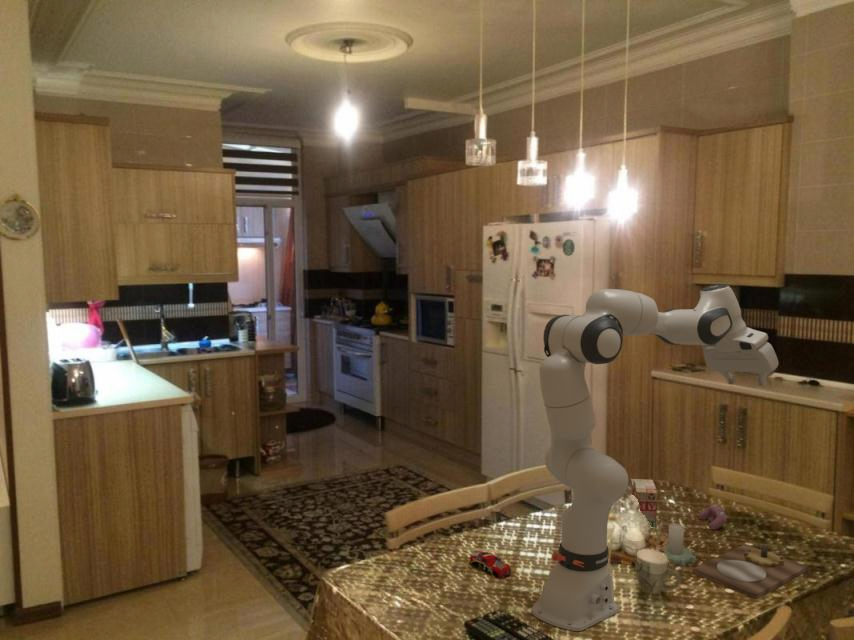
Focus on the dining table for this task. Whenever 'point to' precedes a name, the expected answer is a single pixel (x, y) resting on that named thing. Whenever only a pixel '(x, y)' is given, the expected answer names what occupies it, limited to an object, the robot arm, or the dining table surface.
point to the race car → (490, 564)
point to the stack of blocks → (646, 498)
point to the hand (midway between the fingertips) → (747, 384)
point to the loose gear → (678, 546)
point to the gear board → (750, 570)
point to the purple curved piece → (714, 516)
